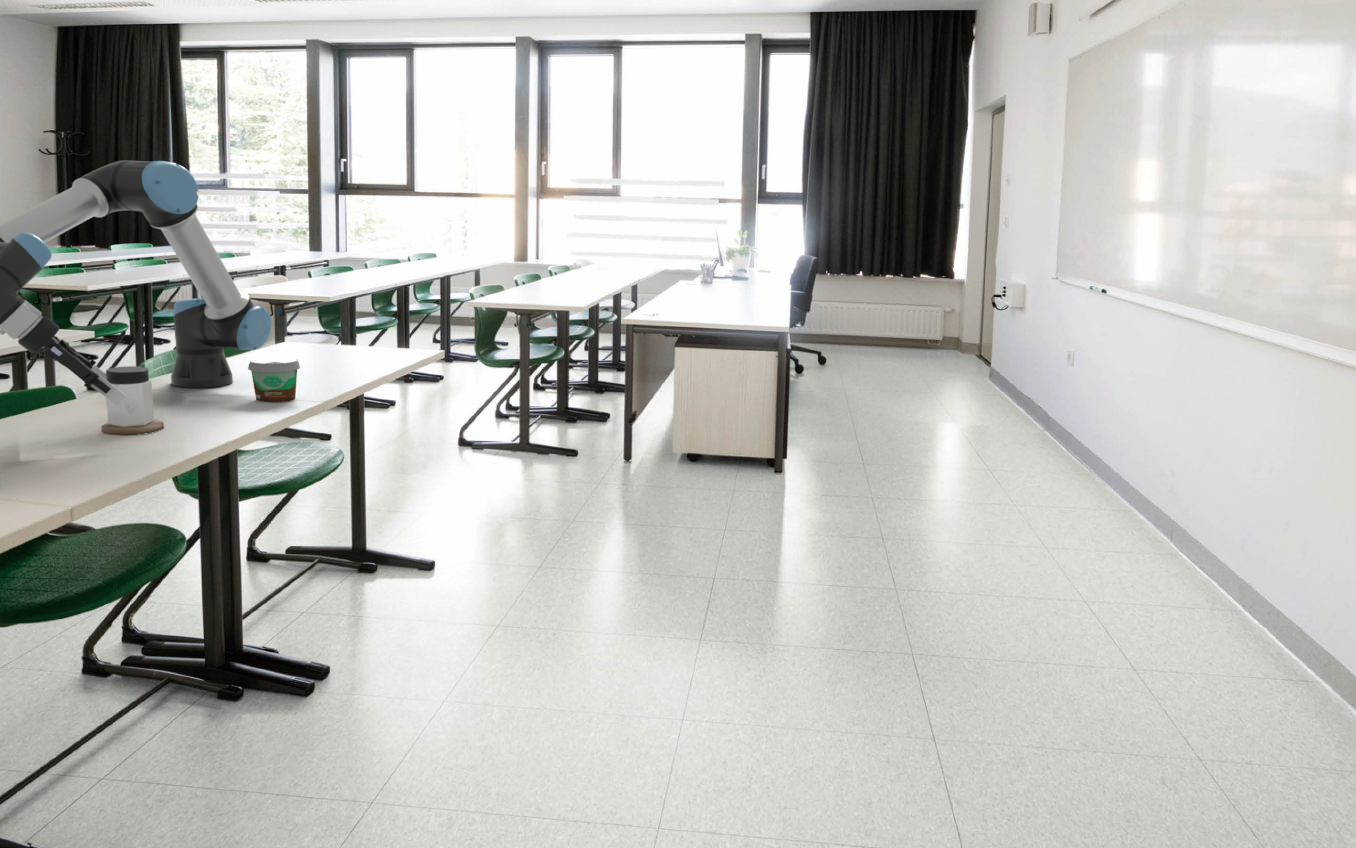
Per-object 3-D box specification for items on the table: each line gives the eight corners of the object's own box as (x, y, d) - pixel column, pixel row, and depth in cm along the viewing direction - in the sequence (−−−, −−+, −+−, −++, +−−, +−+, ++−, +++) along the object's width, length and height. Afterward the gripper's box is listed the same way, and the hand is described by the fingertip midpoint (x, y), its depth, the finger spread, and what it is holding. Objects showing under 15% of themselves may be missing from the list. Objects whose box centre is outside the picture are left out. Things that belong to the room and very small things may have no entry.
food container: (252, 404, 251) (249, 364, 248) (249, 400, 256) (247, 361, 254) (304, 402, 256) (302, 363, 254) (301, 397, 262) (299, 359, 259)
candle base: (100, 425, 223) (99, 421, 223) (160, 421, 230) (160, 416, 230) (103, 437, 214) (103, 432, 213) (167, 432, 220) (166, 427, 220)
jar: (110, 428, 217) (105, 373, 214) (106, 421, 224) (102, 367, 221) (156, 425, 222) (152, 371, 219) (152, 417, 229) (148, 365, 226)
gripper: (15, 333, 216) (101, 397, 228) (16, 349, 196) (110, 419, 207) (42, 308, 218) (126, 372, 229) (46, 321, 198) (137, 392, 209)
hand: (118, 395), depth 218 cm, fingers open, 13 cm apart
